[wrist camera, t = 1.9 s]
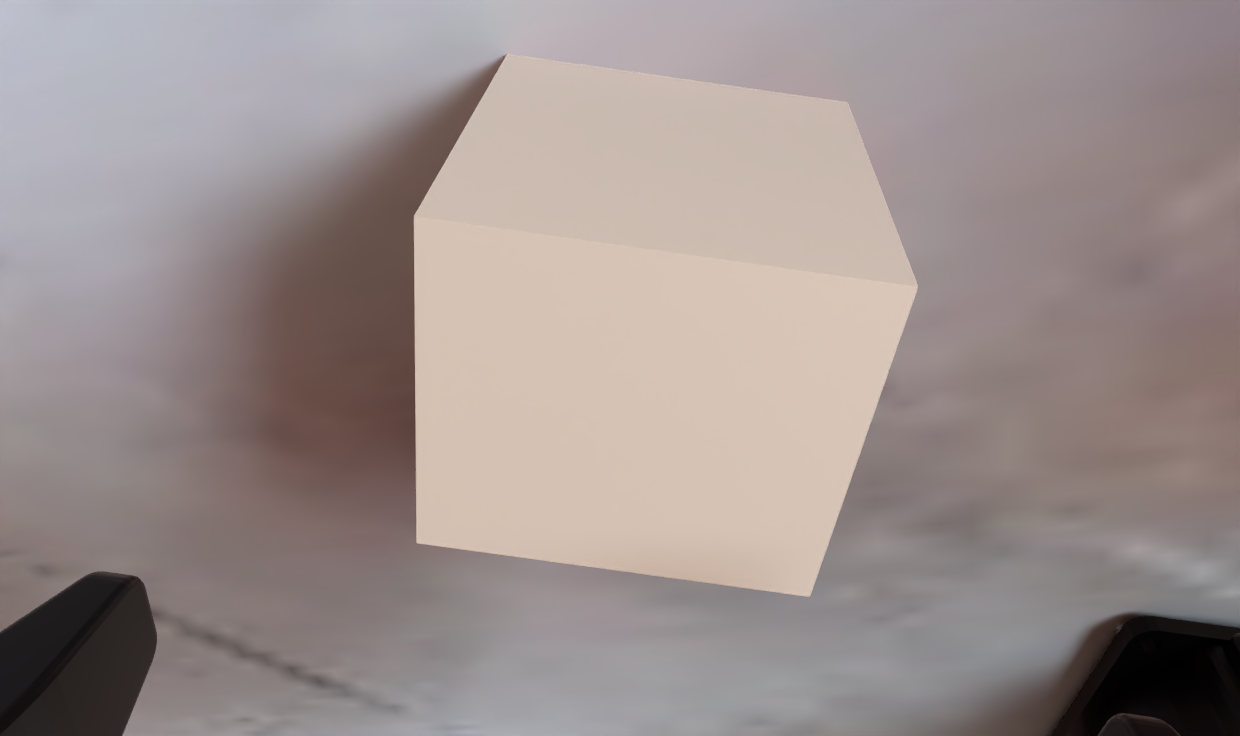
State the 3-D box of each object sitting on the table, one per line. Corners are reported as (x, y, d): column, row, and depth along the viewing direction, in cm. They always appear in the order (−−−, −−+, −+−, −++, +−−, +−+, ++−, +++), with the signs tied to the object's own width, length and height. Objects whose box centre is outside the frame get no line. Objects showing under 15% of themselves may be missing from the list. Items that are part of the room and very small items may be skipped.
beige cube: (771, 388, 18) (796, 634, 13) (492, 350, 18) (417, 582, 13) (847, 101, 15) (917, 287, 10) (507, 52, 15) (413, 215, 10)
